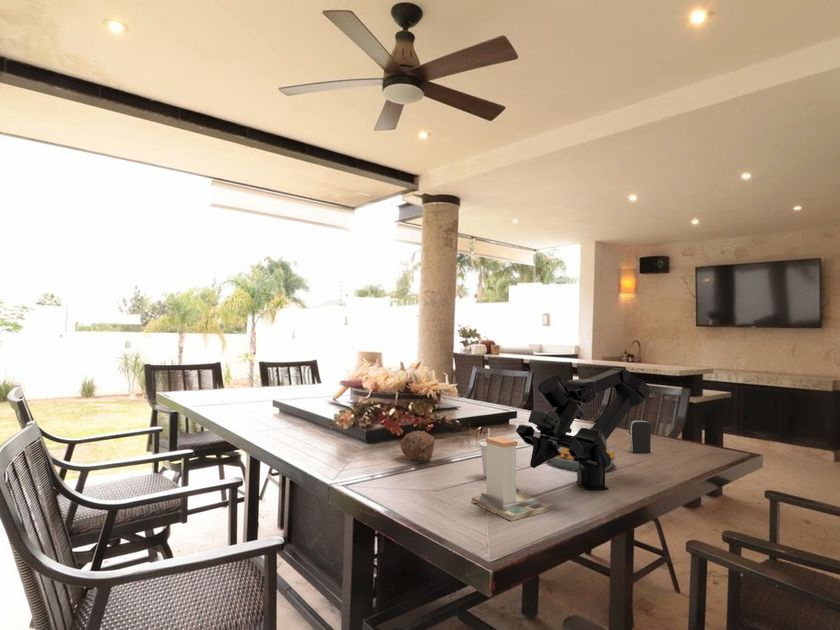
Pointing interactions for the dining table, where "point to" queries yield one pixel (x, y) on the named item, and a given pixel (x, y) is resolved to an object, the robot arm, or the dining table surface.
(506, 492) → the white rectangular tower
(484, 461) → the smoothie
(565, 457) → the pie
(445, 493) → the dining table surface
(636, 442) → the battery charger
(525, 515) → the switch base
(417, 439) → the decorative rock
